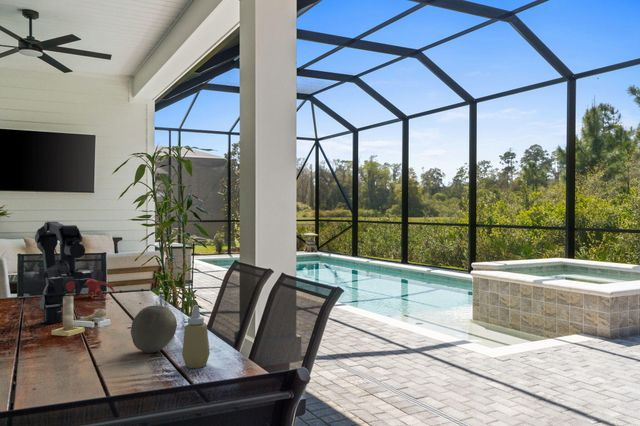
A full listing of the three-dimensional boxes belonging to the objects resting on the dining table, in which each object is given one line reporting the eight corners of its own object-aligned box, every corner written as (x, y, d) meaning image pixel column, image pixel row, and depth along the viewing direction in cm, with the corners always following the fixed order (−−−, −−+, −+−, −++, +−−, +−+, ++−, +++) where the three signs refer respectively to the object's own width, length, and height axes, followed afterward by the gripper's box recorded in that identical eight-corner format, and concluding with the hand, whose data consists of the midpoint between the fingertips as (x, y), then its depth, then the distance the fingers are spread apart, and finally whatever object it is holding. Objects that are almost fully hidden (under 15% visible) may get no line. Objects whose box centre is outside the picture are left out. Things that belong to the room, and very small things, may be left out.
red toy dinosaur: (71, 304, 286) (58, 286, 276) (78, 291, 293) (67, 273, 283) (117, 305, 281) (106, 287, 272) (124, 292, 288) (114, 274, 278)
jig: (36, 333, 196) (36, 328, 196) (81, 321, 217) (81, 316, 218) (69, 336, 191) (69, 330, 191) (112, 323, 213) (112, 318, 213)
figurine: (69, 331, 208) (107, 319, 213) (66, 320, 207) (104, 308, 213) (70, 329, 211) (108, 317, 216) (66, 318, 211) (105, 307, 216)
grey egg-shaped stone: (151, 359, 159) (150, 311, 159) (121, 353, 166) (121, 307, 166) (185, 349, 171) (185, 304, 171) (156, 344, 178) (156, 301, 178)
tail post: (60, 333, 195) (60, 297, 195) (68, 331, 198) (68, 295, 198) (68, 334, 194) (68, 297, 194) (75, 332, 197) (75, 296, 197)
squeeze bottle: (184, 362, 156) (184, 303, 156) (211, 361, 157) (211, 302, 157) (179, 370, 148) (179, 308, 148) (207, 369, 149) (207, 307, 149)
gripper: (32, 257, 199) (32, 298, 199) (71, 259, 193) (71, 300, 193) (55, 255, 209) (55, 293, 209) (92, 256, 204) (92, 295, 204)
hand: (67, 296), depth 203 cm, fingers open, 9 cm apart
